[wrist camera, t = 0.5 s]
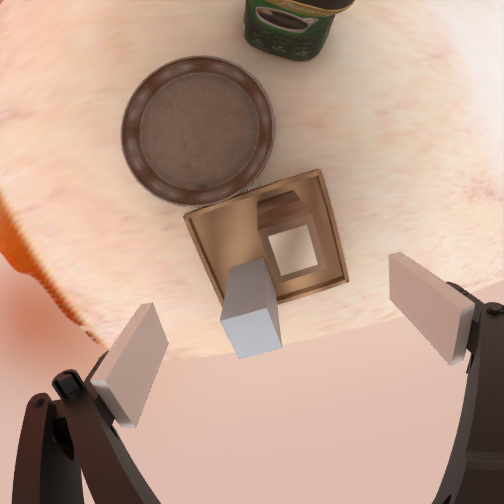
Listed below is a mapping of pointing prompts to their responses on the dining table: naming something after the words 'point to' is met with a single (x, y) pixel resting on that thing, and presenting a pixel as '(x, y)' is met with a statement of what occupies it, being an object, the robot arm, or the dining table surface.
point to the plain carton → (251, 310)
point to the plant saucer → (197, 131)
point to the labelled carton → (289, 237)
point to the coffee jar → (291, 25)
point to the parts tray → (249, 243)
